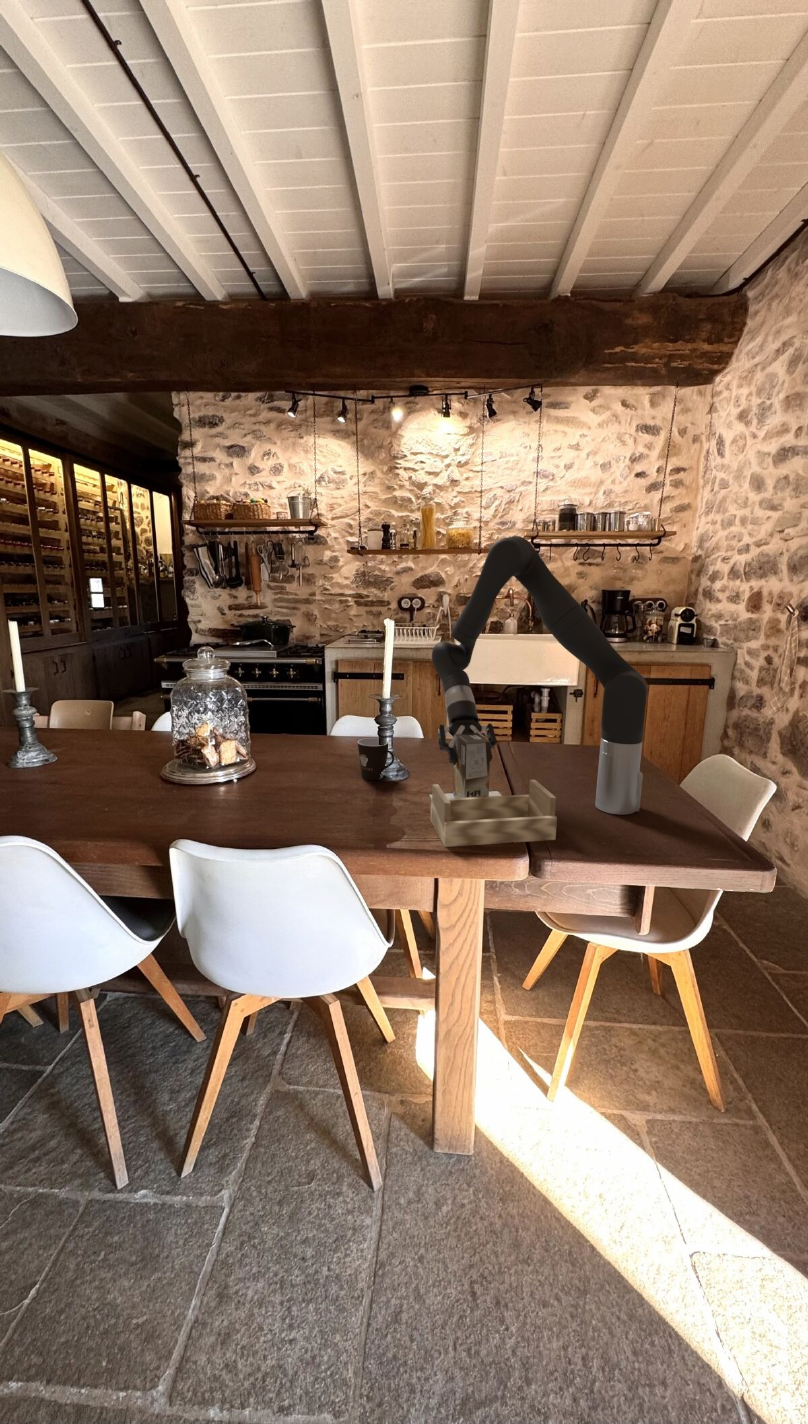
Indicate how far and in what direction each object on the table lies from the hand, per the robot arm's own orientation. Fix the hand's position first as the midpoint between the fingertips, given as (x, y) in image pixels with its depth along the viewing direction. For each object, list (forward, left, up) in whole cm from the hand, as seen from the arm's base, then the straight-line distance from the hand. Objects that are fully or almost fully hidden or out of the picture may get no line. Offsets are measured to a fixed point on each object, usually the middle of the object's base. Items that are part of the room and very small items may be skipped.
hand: (471, 763), depth 142 cm
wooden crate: (0, +16, -10) cm, 19 cm away
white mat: (0, 0, -10) cm, 10 cm away
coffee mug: (+21, -22, -10) cm, 32 cm away
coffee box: (0, 0, -10) cm, 10 cm away
